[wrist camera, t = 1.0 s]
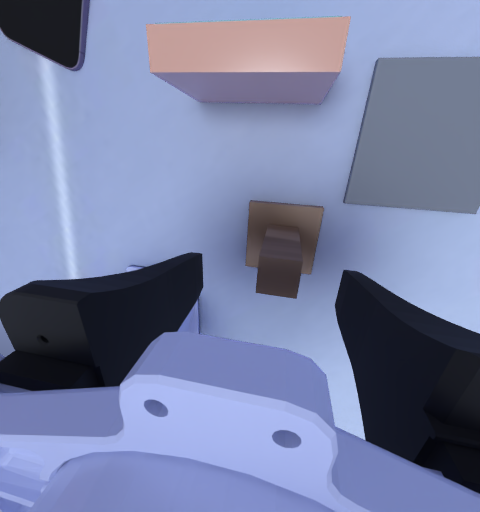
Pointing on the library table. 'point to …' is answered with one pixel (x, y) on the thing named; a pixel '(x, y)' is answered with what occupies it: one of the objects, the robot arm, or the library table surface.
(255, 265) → the stamp
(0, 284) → the library table surface
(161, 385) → the robot arm
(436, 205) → the mat
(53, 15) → the smartphone
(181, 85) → the tile
